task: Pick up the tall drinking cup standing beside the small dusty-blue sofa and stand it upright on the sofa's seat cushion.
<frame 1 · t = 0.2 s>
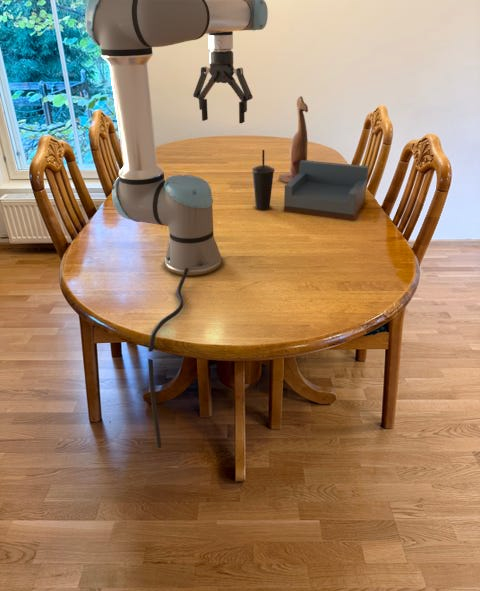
hand: (223, 121, 163), 28 cm above the table, tool pointing down, fingers open, 13 cm apart
drinking cup: (262, 208, 172), on the table
sofa: (325, 206, 172), on the table
bird sculpture: (297, 181, 198), on the table
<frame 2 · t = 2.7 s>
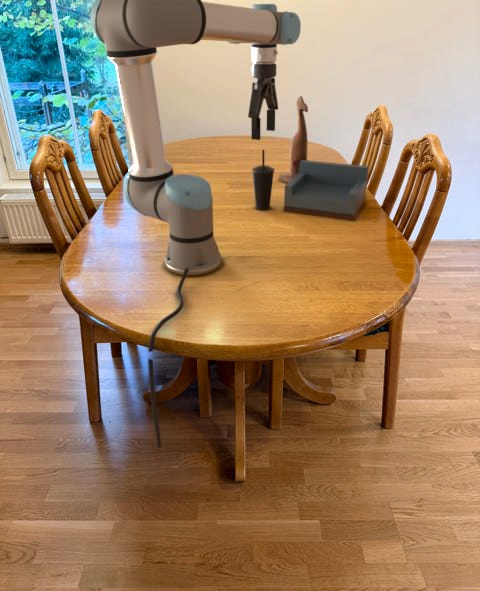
hand: (263, 134, 159), 25 cm above the table, tool pointing down, fingers open, 13 cm apart
nothing on the table moved.
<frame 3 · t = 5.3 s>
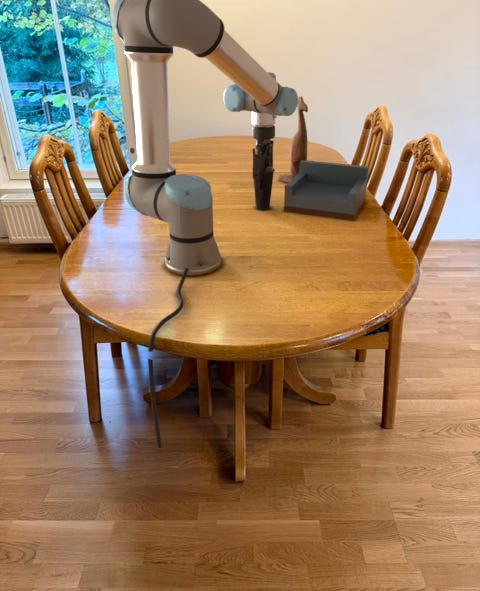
hand: (262, 194, 169), 5 cm above the table, tool pointing down, fingers closed on drinking cup, 6 cm apart
drinking cup: (262, 208, 172), on the table, touching gripper
everything else where it was.
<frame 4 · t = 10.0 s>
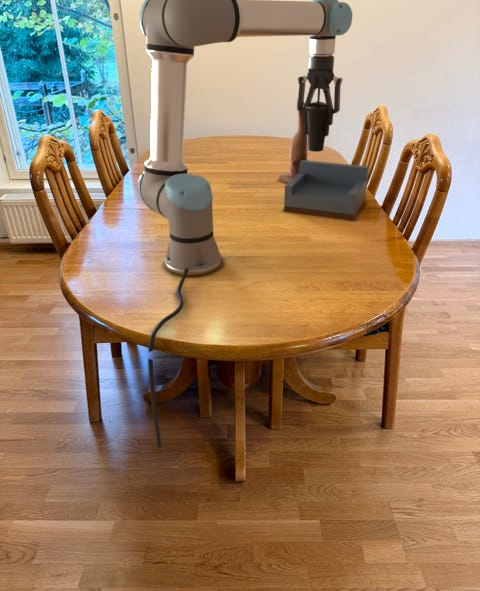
hand: (316, 134, 158), 25 cm above the table, tool pointing down, fingers closed on drinking cup, 6 cm apart
drinking cup: (315, 150, 160), point 20 cm above the table, touching gripper
everything else where it was.
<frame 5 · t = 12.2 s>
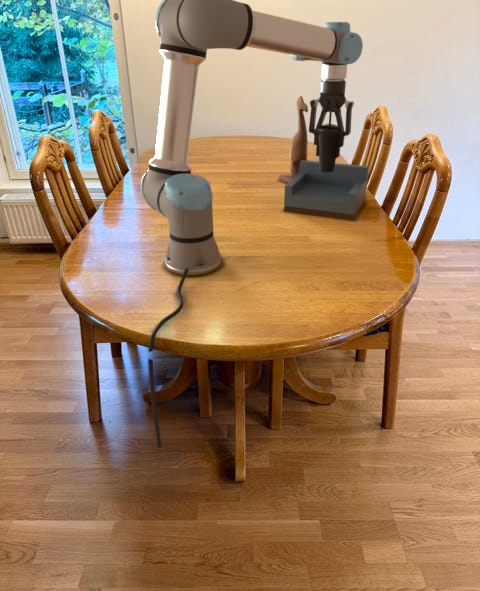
hand: (327, 155, 161), 18 cm above the table, tool pointing down, fingers closed on drinking cup, 6 cm apart
drinking cup: (326, 171, 163), point 13 cm above the table, touching gripper
everything else where it was.
when the fingers open (11 cm above the table, at t = 14.5 s): drinking cup stays where it is, resting on sofa.
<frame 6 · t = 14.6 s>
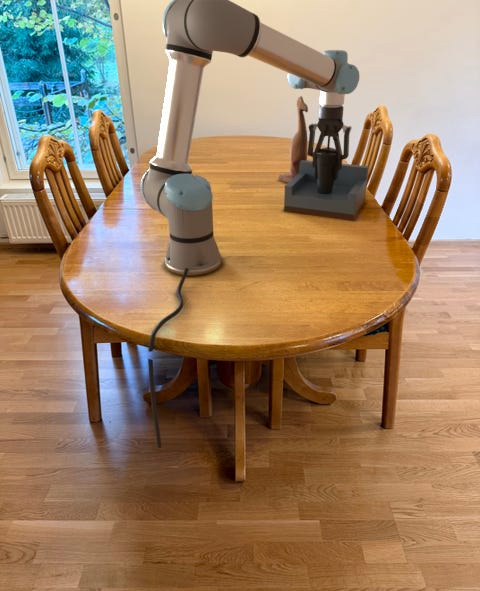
hand: (326, 178, 165), 11 cm above the table, tool pointing down, fingers open, 6 cm apart
drinking cup: (324, 192, 167), point 6 cm above the table, touching sofa
everything else where it was.
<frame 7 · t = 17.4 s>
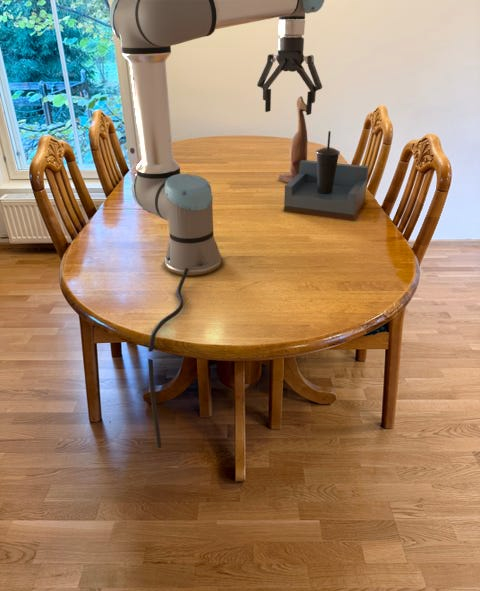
hand: (287, 112, 154), 32 cm above the table, tool pointing down, fingers open, 13 cm apart
nothing on the table moved.
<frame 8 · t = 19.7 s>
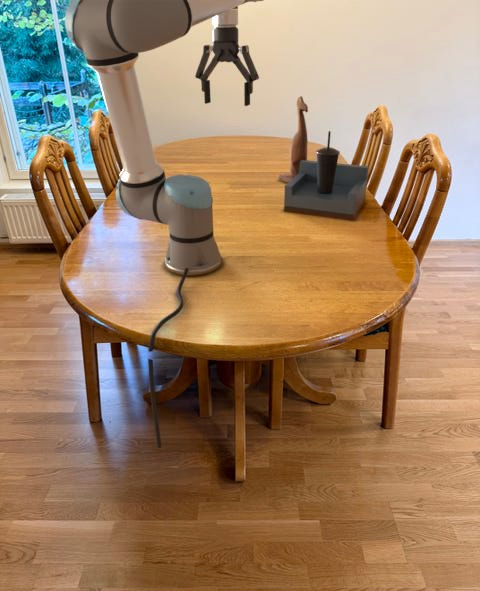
hand: (227, 104, 153), 35 cm above the table, tool pointing down, fingers open, 13 cm apart
nothing on the table moved.
at the end: drinking cup inside the target area on the sofa (0.8 cm from its centre), point 5.8 cm above the sofa's base; drinking cup tilted 0°; the gripper is holding nothing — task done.
